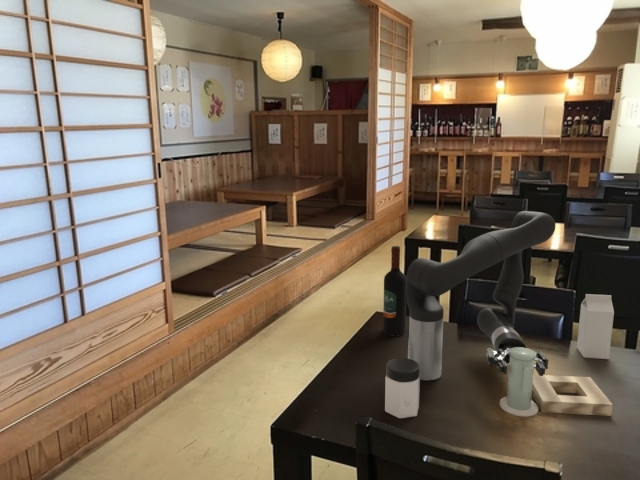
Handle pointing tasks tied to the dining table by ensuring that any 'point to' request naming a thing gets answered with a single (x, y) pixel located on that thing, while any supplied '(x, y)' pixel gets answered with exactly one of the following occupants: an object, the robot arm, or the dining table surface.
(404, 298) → the wine bottle
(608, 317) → the milk carton
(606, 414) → the wooden square frame
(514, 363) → the mint green tumbler
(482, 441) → the dining table surface
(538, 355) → the robot arm
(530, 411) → the saucer
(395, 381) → the jar
